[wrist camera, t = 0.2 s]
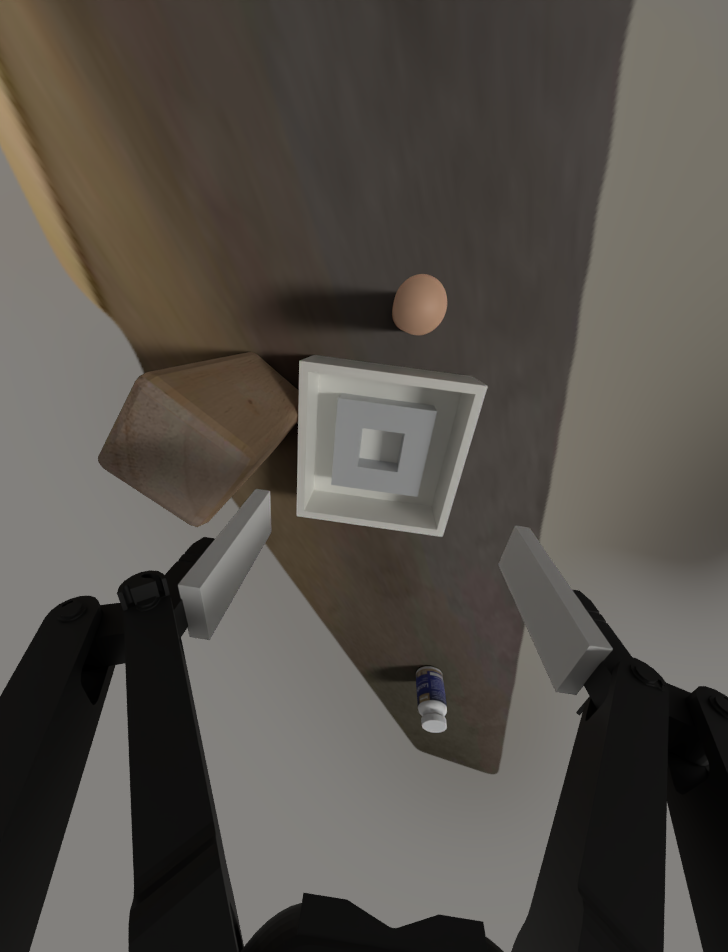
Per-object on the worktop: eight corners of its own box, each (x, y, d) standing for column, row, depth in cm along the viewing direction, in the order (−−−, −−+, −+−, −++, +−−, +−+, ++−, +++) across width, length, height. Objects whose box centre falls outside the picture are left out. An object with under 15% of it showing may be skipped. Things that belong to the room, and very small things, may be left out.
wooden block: (314, 401, 41) (256, 461, 23) (274, 451, 44) (196, 535, 27) (253, 347, 38) (133, 367, 20) (215, 405, 42) (87, 464, 24)
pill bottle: (421, 662, 64) (426, 716, 55) (446, 669, 65) (455, 723, 56) (411, 676, 67) (414, 730, 58) (435, 683, 67) (442, 737, 58)
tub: (314, 354, 38) (299, 360, 32) (471, 375, 38) (487, 386, 31) (308, 490, 47) (296, 516, 41) (435, 508, 47) (442, 536, 41)
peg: (395, 290, 34) (398, 270, 22) (429, 294, 34) (453, 277, 22) (389, 329, 36) (389, 331, 24) (422, 333, 36) (440, 338, 23)
